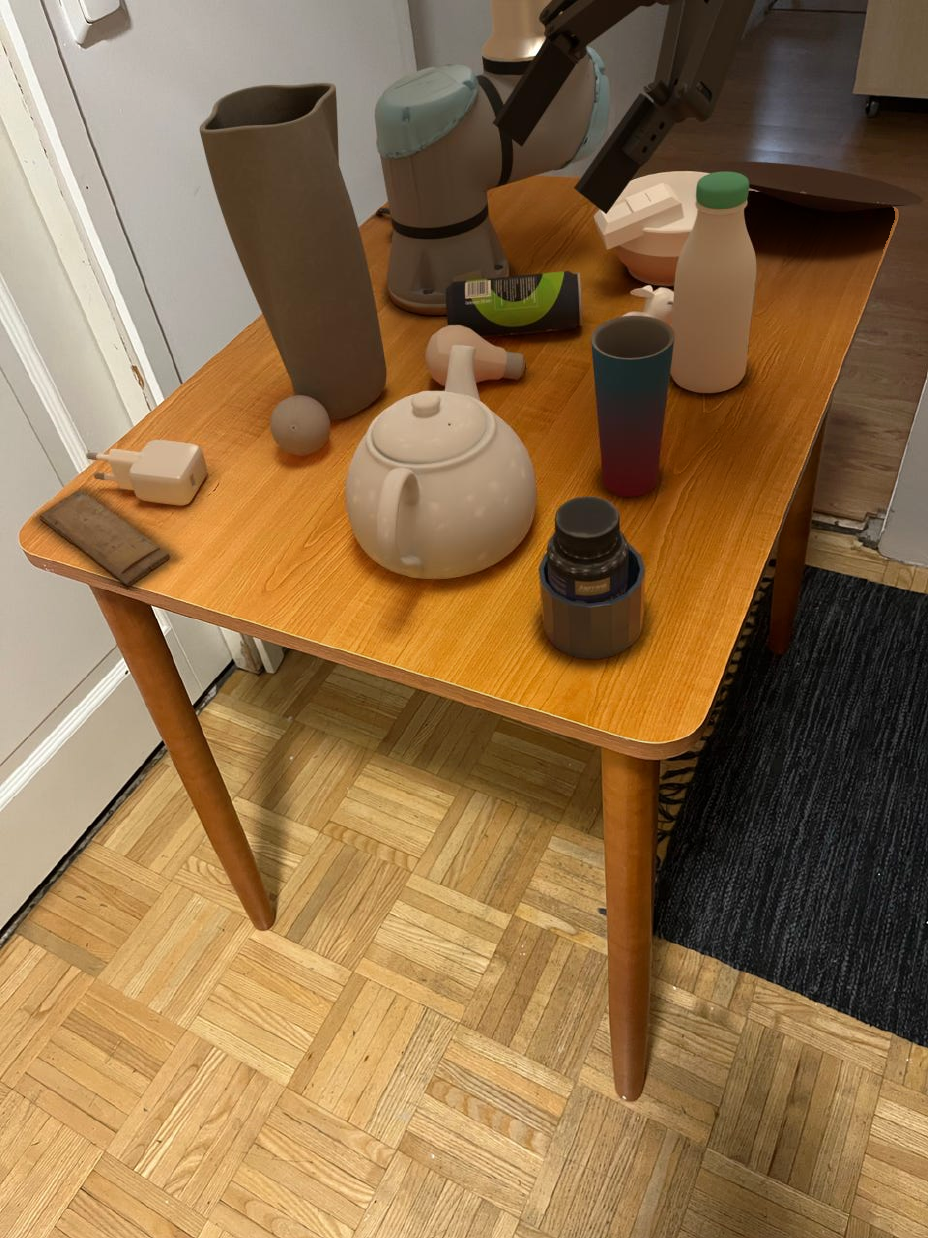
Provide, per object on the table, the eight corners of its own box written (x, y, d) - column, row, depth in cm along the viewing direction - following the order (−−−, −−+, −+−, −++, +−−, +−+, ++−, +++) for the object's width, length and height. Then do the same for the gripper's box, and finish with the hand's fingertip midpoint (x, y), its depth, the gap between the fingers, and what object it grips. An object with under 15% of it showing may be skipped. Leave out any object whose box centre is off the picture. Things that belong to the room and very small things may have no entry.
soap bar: (684, 217, 106) (680, 195, 104) (607, 249, 107) (601, 228, 105) (671, 199, 109) (667, 177, 107) (597, 230, 110) (591, 209, 109)
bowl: (765, 251, 115) (773, 185, 109) (693, 310, 108) (698, 242, 102) (653, 223, 123) (655, 161, 118) (579, 276, 116) (578, 212, 110)
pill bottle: (579, 660, 74) (575, 556, 66) (536, 614, 78) (527, 511, 70) (643, 625, 75) (646, 520, 67) (597, 582, 79) (596, 478, 71)
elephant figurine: (692, 265, 95) (678, 250, 100) (588, 331, 98) (579, 313, 104) (722, 326, 99) (706, 309, 104) (620, 388, 102) (610, 368, 107)
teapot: (314, 512, 91) (278, 390, 81) (480, 440, 96) (465, 317, 86) (401, 630, 79) (371, 504, 69) (585, 541, 84) (582, 411, 74)
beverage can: (448, 343, 106) (583, 331, 105) (443, 285, 104) (580, 271, 102) (453, 335, 112) (581, 324, 110) (448, 280, 110) (578, 267, 108)
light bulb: (533, 323, 101) (431, 306, 100) (532, 367, 97) (426, 350, 96) (520, 368, 106) (423, 353, 105) (519, 411, 103) (418, 396, 102)
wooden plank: (83, 494, 98) (42, 522, 96) (78, 485, 97) (35, 512, 95) (171, 557, 88) (127, 589, 86) (166, 547, 87) (121, 579, 85)
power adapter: (112, 463, 99) (86, 500, 95) (98, 425, 96) (71, 462, 92) (212, 475, 98) (190, 513, 94) (202, 437, 94) (179, 475, 90)
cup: (673, 462, 90) (681, 317, 79) (659, 508, 86) (666, 362, 75) (602, 454, 92) (601, 312, 81) (585, 498, 88) (581, 355, 77)
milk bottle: (745, 396, 96) (768, 197, 81) (667, 394, 97) (676, 200, 83) (745, 354, 101) (767, 160, 86) (671, 354, 102) (681, 163, 88)
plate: (722, 156, 134) (732, 128, 132) (918, 218, 126) (932, 189, 124) (663, 174, 113) (673, 141, 110) (895, 250, 105) (911, 216, 103)
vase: (411, 371, 106) (359, 77, 84) (371, 437, 98) (302, 131, 76) (311, 364, 109) (237, 79, 87) (265, 426, 101) (171, 131, 80)
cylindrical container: (525, 611, 79) (520, 558, 74) (607, 574, 81) (607, 520, 76) (576, 674, 73) (573, 621, 69) (662, 633, 75) (665, 579, 71)
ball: (318, 463, 100) (345, 413, 98) (305, 470, 94) (334, 417, 92) (268, 433, 99) (295, 382, 98) (252, 437, 93) (281, 384, 92)
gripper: (928, -74, 51) (669, 264, 60) (688, -133, 68) (512, 139, 76) (864, -182, 46) (592, 202, 55) (623, -217, 63) (442, 83, 71)
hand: (545, 166), depth 65 cm, fingers open, 13 cm apart
